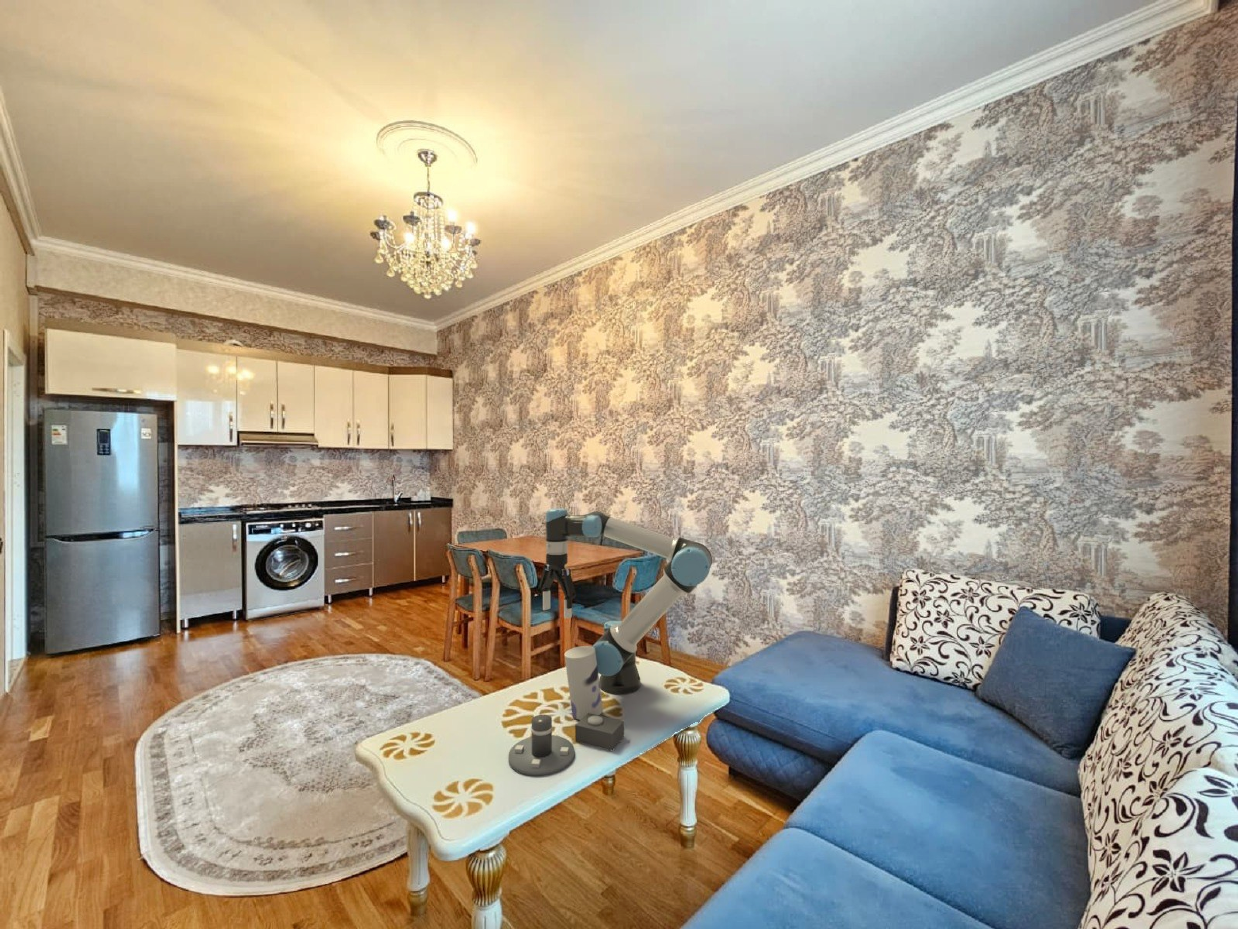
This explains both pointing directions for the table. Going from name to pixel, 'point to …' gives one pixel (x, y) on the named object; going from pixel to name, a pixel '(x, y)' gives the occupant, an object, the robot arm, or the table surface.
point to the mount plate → (536, 766)
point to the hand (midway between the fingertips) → (557, 613)
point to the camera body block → (599, 731)
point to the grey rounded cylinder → (541, 736)
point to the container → (583, 681)
